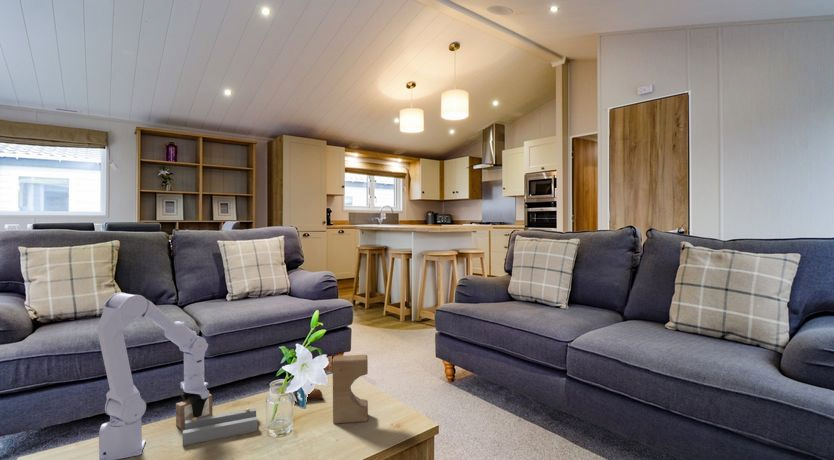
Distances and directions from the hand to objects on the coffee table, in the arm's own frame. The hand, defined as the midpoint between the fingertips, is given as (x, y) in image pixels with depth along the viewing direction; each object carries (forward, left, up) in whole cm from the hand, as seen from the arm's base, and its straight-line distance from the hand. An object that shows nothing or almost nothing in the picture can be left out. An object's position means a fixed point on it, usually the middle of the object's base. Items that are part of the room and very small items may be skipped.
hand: (194, 414), depth 132 cm
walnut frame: (0, 0, -2) cm, 2 cm away
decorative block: (+46, -20, -2) cm, 50 cm away
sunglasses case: (+32, +3, -3) cm, 33 cm away
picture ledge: (+8, -11, -2) cm, 14 cm away
